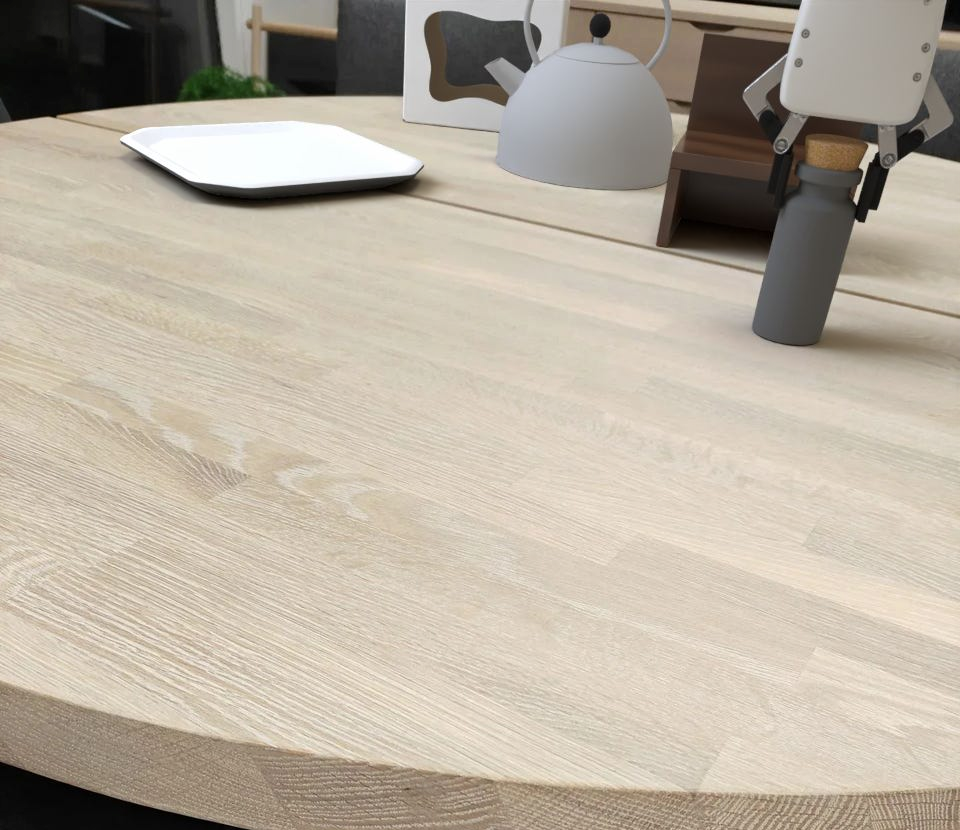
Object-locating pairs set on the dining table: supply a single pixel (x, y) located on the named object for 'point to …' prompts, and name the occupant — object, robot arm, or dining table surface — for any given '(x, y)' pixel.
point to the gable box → (428, 57)
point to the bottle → (810, 242)
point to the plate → (272, 158)
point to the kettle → (586, 114)
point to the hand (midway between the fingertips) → (818, 210)
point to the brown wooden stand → (733, 141)
